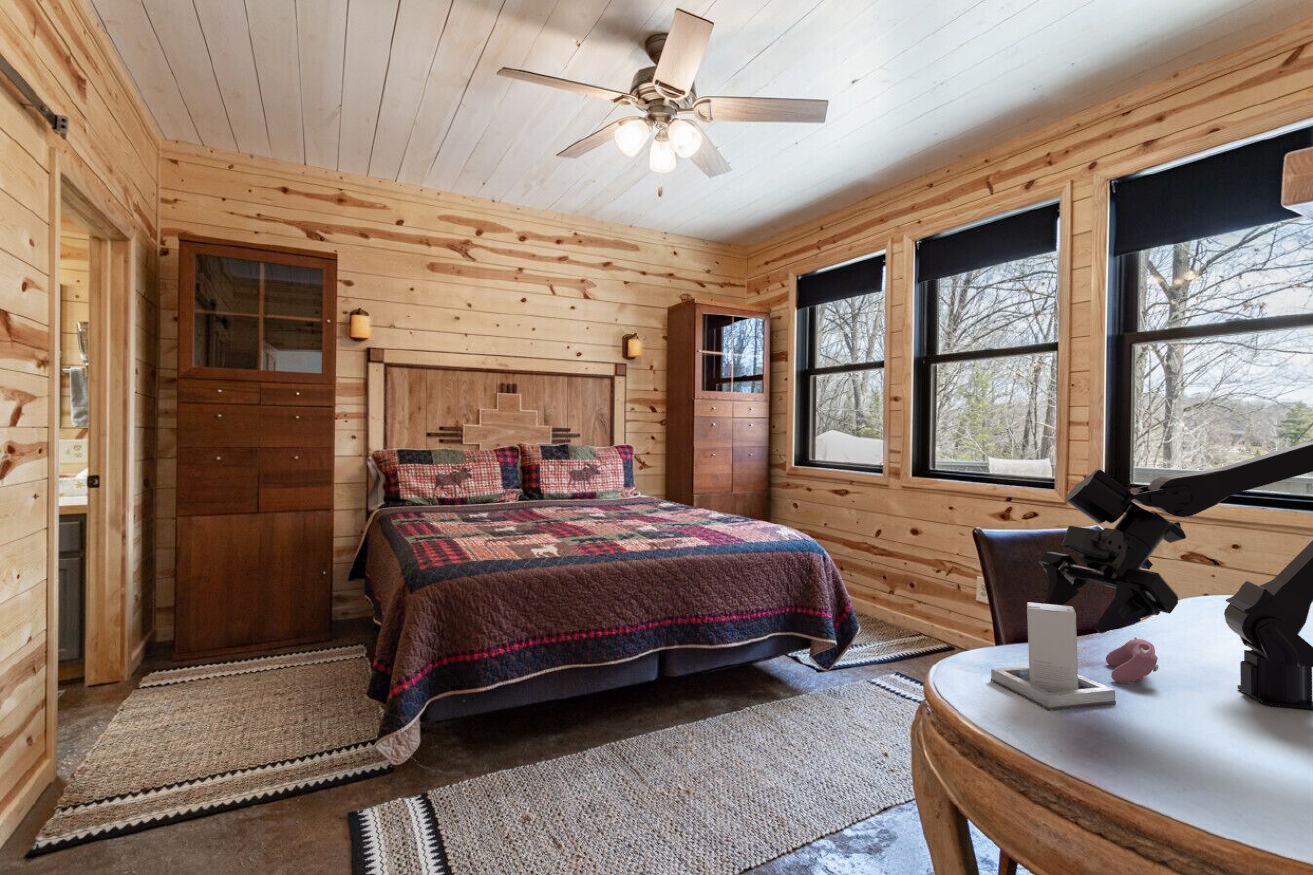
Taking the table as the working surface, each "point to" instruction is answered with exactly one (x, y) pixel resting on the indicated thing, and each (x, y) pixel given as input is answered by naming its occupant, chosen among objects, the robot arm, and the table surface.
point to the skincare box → (1052, 647)
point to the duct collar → (1083, 697)
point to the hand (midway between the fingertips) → (1070, 622)
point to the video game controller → (1132, 661)
